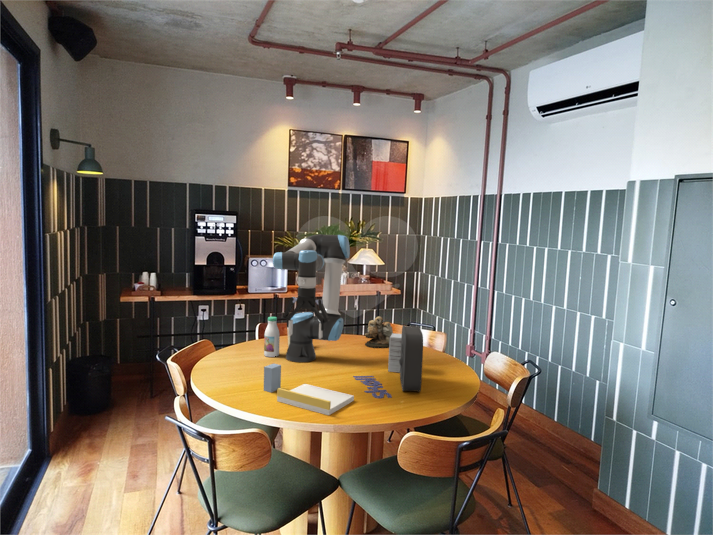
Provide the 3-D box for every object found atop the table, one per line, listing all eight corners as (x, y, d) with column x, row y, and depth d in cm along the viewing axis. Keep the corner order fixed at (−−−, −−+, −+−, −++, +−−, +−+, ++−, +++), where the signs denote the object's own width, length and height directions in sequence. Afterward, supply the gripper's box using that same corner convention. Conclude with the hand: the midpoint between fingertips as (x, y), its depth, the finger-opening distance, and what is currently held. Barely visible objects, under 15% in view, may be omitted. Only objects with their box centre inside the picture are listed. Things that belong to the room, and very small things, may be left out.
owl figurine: (367, 349, 271) (368, 319, 269) (360, 344, 282) (361, 315, 281) (397, 347, 276) (398, 318, 275) (389, 342, 287) (390, 314, 286)
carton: (272, 386, 204) (273, 363, 203) (280, 388, 202) (281, 365, 201) (263, 390, 199) (263, 366, 198) (271, 392, 197) (271, 368, 196)
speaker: (420, 395, 200) (423, 336, 198) (399, 394, 200) (402, 335, 198) (415, 376, 225) (417, 323, 222) (396, 375, 225) (399, 322, 223)
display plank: (277, 401, 188) (277, 388, 187) (304, 388, 203) (304, 376, 203) (328, 415, 176) (329, 402, 176) (353, 400, 192) (354, 388, 191)
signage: (393, 396, 197) (369, 398, 194) (393, 398, 197) (369, 399, 194) (373, 374, 224) (352, 375, 221) (373, 376, 224) (352, 377, 221)
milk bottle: (273, 352, 256) (274, 315, 254) (282, 355, 251) (283, 317, 249) (261, 354, 251) (261, 316, 249) (269, 358, 245) (270, 319, 243)
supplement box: (407, 373, 229) (408, 338, 227) (387, 371, 231) (389, 337, 229) (409, 367, 238) (410, 334, 237) (390, 366, 240) (391, 332, 238)
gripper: (275, 285, 203) (274, 335, 205) (332, 290, 197) (330, 341, 199) (282, 284, 211) (281, 332, 212) (337, 288, 205) (335, 337, 206)
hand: (305, 336), depth 206 cm, fingers open, 13 cm apart
